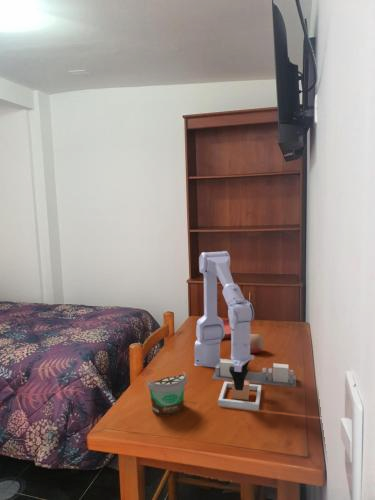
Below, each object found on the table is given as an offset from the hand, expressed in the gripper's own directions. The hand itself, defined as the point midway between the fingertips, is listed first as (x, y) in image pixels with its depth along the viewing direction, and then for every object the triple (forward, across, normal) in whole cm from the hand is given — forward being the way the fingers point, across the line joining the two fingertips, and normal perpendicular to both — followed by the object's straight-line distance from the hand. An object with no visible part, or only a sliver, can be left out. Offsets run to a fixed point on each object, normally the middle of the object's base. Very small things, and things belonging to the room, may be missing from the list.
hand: (240, 383), depth 118 cm
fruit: (+5, +37, -1) cm, 37 cm away
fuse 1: (+4, +14, +6) cm, 16 cm away
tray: (+5, 0, 0) cm, 5 cm away
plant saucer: (+6, +58, +14) cm, 60 cm away
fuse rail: (+5, +14, -3) cm, 15 cm away
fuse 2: (+4, +14, -12) cm, 19 cm away
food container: (+5, -12, +19) cm, 23 cm away
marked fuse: (+4, 0, 0) cm, 4 cm away
